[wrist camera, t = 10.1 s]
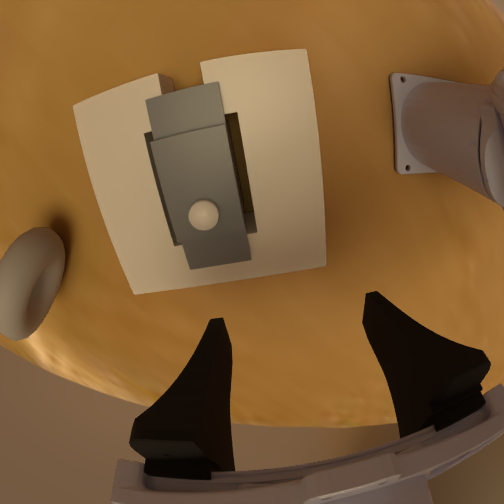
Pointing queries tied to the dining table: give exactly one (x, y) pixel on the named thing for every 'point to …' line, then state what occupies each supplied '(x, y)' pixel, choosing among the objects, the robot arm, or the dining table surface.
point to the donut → (29, 281)
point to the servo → (199, 175)
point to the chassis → (257, 160)
